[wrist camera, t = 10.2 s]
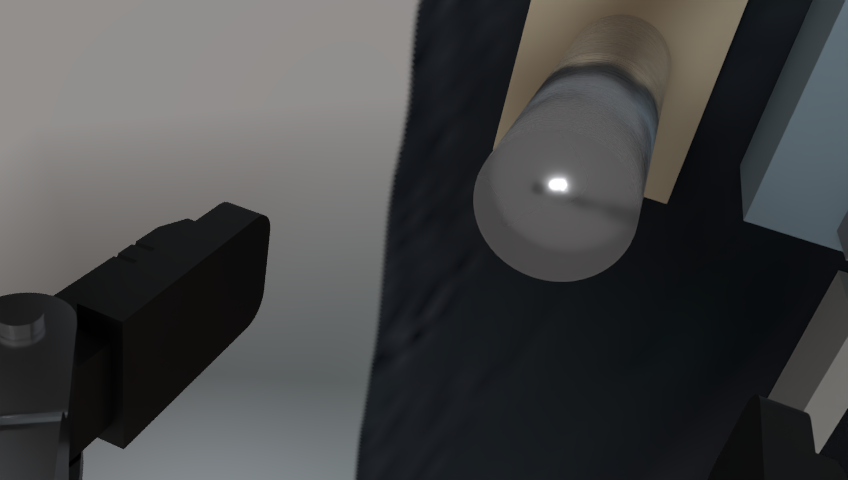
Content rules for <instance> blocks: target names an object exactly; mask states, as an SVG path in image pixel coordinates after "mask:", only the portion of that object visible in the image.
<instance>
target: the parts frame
mask: <svg viewBox="0 0 848 480" xmlns="http://www.w3.org/2000/svg"><path fill="white" fill-rule="evenodd" d="M768 399H771V400H773V401H776V402H779V403H782V404H784V405H787V406H790V407H793V408H795V409H798V410H801V411H804V412H807V413H808V414H809V415H810V418H811V423H812V430H813V437H814V444H815V451H816V453H818V454H819V453H820V451H821V450H822V448H823V446H824V445H825V443H826V442H827V440H828V438H829V437H830V435H831V434H832V432H833V430H834V429H835V427H836V426H837V424H838V423H839V421H840V419H841V418H842V416H843V415H844V413H845V411H846V410H847V408H848V273H846V272H843V271H840V270H838V272H837V274H836V276H835V277H834V279H833V281H832V283H831V285H830V286H829V288H828V290H827V292H826V294H825V295H824V297H823V299H822V301H821V303H820V305H819V306H818V308H817V310H816V312H815V314H814V315H813V317H812V319H811V321H810V323H809V324H808V326H807V328H806V330H805V332H804V333H803V335H802V337H801V339H800V341H799V342H798V344H797V346H796V348H795V350H794V351H793V353H792V355H791V357H790V359H789V360H788V362H787V364H786V366H785V368H784V369H783V371H782V373H781V375H780V377H779V378H778V380H777V382H776V384H775V386H774V387H773V389H772V391H771V393H770V395H769V396H768Z"/></svg>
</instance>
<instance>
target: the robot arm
mask: <svg viewBox="0 0 848 480" xmlns="http://www.w3.org/2000/svg"><path fill="white" fill-rule="evenodd" d="M269 236H270V222H269V219H268V217H267V216H264V215H262V214H259V213H256V212H254V211H251V210H248V209H245V208H242V207H239V206H237V205H234V204H231V203H228V202H224V203H221V204H219V205H218V206H216V207H215V208H214V209H212V210H211V211H209V212H208V213H206V214H205V215H203V216H202V217H201V218H199V219H198V220H196V221H193V220H190V219H185V220H181V221H178V222H174V223H171V224H167V225H164V226H160V227H158V228H156V229H155V230H153V231H152V232H150V233H148V234H147V235H145V236H144V237H142V238H141V239H139V240H138V241H136V244H135V245H130V246H129V247H127V248H126V249H124V250H123V251H121V252H120V253H118V256H117V257H112V258H110V259H109V260H107V261H106V262H105V263H103V264H101V265H100V266H98V267H97V268H95V269H94V270H92V271H91V272H89V273H88V274H86V275H84V276H83V277H81V278H80V279H78V280H77V281H75V282H74V283H72V284H71V285H69V286H68V287H66V288H65V289H63V290H62V291H60V292H59V293H57V294H55V295H54V296H51V295H47V294H40V293H16V294H9V295H5V296H1V297H0V480H82V476H83V450H84V449H85V448H86V447H87V446H88V445H89V444H90V443H91V442H92V441H93V440H94V439H96V438H97V437H98V438H100V439H102V440H105V441H107V442H109V443H111V444H113V445H116V446H118V447H120V448H122V449H124V448H125V447H126V446H127V445H128V444H129V443H131V441H133V439H135V438H136V437H137V436H138V435H139V434H140V433H141V431H143V430H144V429H145V427H147V426H148V425H149V424H150V423H151V421H153V420H154V419H155V418H156V417H157V416H158V415H159V414H160V413H161V412H162V411H163V410H164V409H165V408H166V407H167V406H168V405H169V404H170V403H171V402H172V401H173V400H174V399H175V398H176V397H177V396H178V395H179V394H180V393H181V392H182V391H183V390H184V389H185V388H186V387H187V386H188V385H189V384H190V383H191V382H192V381H193V380H194V379H195V378H196V377H197V376H198V375H200V374H201V372H202V371H204V369H206V368H207V367H208V366H209V365H210V364H211V363H212V362H213V361H214V360H215V359H216V358H217V357H218V356H219V355H220V354H221V353H222V352H223V351H224V350H225V349H226V348H227V347H228V346H229V345H230V344H231V343H232V342H233V341H234V340H235V339H236V338H237V337H238V336H239V335H240V334H241V333H242V332H243V331H244V330H245V329H246V328H247V327H248V326H249V325H250V323H251V322H252V321H253V319H254V318H255V315H256V314H257V312H258V309H259V307H260V304H261V301H262V298H263V293H264V284H265V275H266V265H267V255H268V245H269ZM708 480H848V477H847V475H846V474H845V472H844V471H843V469H842V468H841V466H840V465H839V463H838V461H837V460H834V459H832V458H829V457H826V456H824V455H821V454H818V453H816V451H815V444H814V437H813V430H812V423H811V418H810V415H809V414H808V413H807V412H804V411H801V410H798V409H795V408H793V407H790V406H787V405H784V404H782V403H779V402H776V401H773V400H771V399H768V398H765V397H762V396H759V395H754V396H753V397H752V398H751V399H750V400H749V401H748V403H747V405H746V406H745V408H744V410H743V412H742V414H741V416H740V418H739V419H738V421H737V423H736V425H735V427H734V429H733V431H732V432H731V434H730V436H729V438H728V440H727V442H726V444H725V446H724V447H723V449H722V451H721V453H720V455H719V457H718V459H717V460H716V462H715V464H714V466H713V468H712V470H711V473H710V475H709V478H708Z"/></svg>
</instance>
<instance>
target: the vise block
mask: <svg viewBox="0 0 848 480" xmlns="http://www.w3.org/2000/svg"><path fill="white" fill-rule="evenodd" d="M740 175H741V190H742V204H743V219H744V221H746V222H749V223H753V224H756V225H759V226H762V227H765V228H768V229H772V230H775V231H778V232H781V233H784V234H788V235H791V236H794V237H797V238H800V239H804V240H807V241H810V242H813V243H816V244H820V245H823V246H826V247H829V248H832V249H836V250H839V251H842V252H844V256H845V259H846V260H847V261H848V0H813V1H812V3H811V5H810V8H809V10H808V12H807V14H806V17H805V19H804V21H803V23H802V26H801V28H800V30H799V33H798V35H797V37H796V39H795V42H794V44H793V46H792V48H791V51H790V53H789V55H788V58H787V60H786V62H785V64H784V67H783V69H782V71H781V73H780V76H779V78H778V80H777V82H776V85H775V87H774V89H773V92H772V94H771V96H770V98H769V101H768V103H767V105H766V107H765V110H764V112H763V114H762V117H761V119H760V121H759V123H758V126H757V128H756V130H755V132H754V135H753V137H752V139H751V141H750V144H749V146H748V148H747V151H746V153H745V155H744V157H743V160H742V162H741V164H740Z"/></svg>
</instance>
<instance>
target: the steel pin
mask: <svg viewBox="0 0 848 480" xmlns="http://www.w3.org/2000/svg"><path fill="white" fill-rule="evenodd" d="M670 62H671V60H670V53H669V49H668V46H667V44H666V41H665V39H664V38H663V36H662V35H661V33H660V32H659V31H658V30H657V29H656V28H655V27H654V26H653V25H651V24H650V23H649V22H647V21H645V20H643V19H641V18H639V17H636V16H631V15H624V14H617V15H610V16H606V17H603V18H600V19H598V20H596V21H594V22H592V23H591V24H589V25H588V26H587V27H586V28H585V29H583V30H582V32H581V33H580V34H579V35H578V36H577V38H576V39H575V40H574V42H573V43H572V44H571V46H570V47H569V49H568V50H567V51H566V53H565V54H564V55H563V57H562V58H561V59H560V61H559V62H558V63H557V65H556V66H555V68H554V69H553V70H552V72H551V73H550V74H549V76H548V77H547V78H546V80H545V81H544V82H543V84H542V85H541V87H540V88H539V89H538V91H537V92H536V93H535V95H534V96H533V97H532V99H531V100H530V101H529V103H528V104H527V106H526V107H525V108H524V110H523V111H522V112H521V114H520V115H519V116H518V118H517V119H516V120H515V122H514V123H513V125H512V126H511V127H510V129H509V130H508V131H507V133H506V134H505V135H504V137H503V138H502V139H501V141H500V142H499V144H498V145H497V146H496V148H495V149H494V150H493V152H492V153H491V154H490V156H489V157H488V159H487V160H486V161H485V163H484V164H483V166H482V168H481V170H480V172H479V174H478V177H477V180H476V183H475V188H474V197H473V205H474V213H475V217H476V222H477V224H478V227H479V229H480V232H481V234H482V235H483V237H484V239H485V241H486V242H487V244H488V245H489V246H490V248H491V249H492V250H493V251H494V252H495V253H496V255H497V256H499V257H500V258H501V259H502V260H503V261H504V262H505V263H507V264H508V265H510V266H511V267H513V268H514V269H516V270H518V271H520V272H522V273H524V274H526V275H529V276H531V277H534V278H538V279H542V280H547V281H556V282H567V281H576V280H581V279H585V278H588V277H591V276H594V275H596V274H598V273H600V272H602V271H604V270H606V269H607V268H609V267H610V266H611V265H613V264H614V263H615V262H616V261H617V260H618V259H619V258H620V257H621V256H622V255H623V254H624V253H625V251H626V250H627V248H628V247H629V245H630V244H631V241H632V239H633V237H634V235H635V232H636V228H637V225H638V220H639V215H640V211H641V206H642V201H643V196H644V192H645V187H646V182H647V177H648V173H649V168H650V163H651V158H652V154H653V149H654V144H655V140H656V135H657V130H658V125H659V121H660V116H661V111H662V106H663V102H664V97H665V92H666V87H667V83H668V78H669V73H670Z"/></svg>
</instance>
